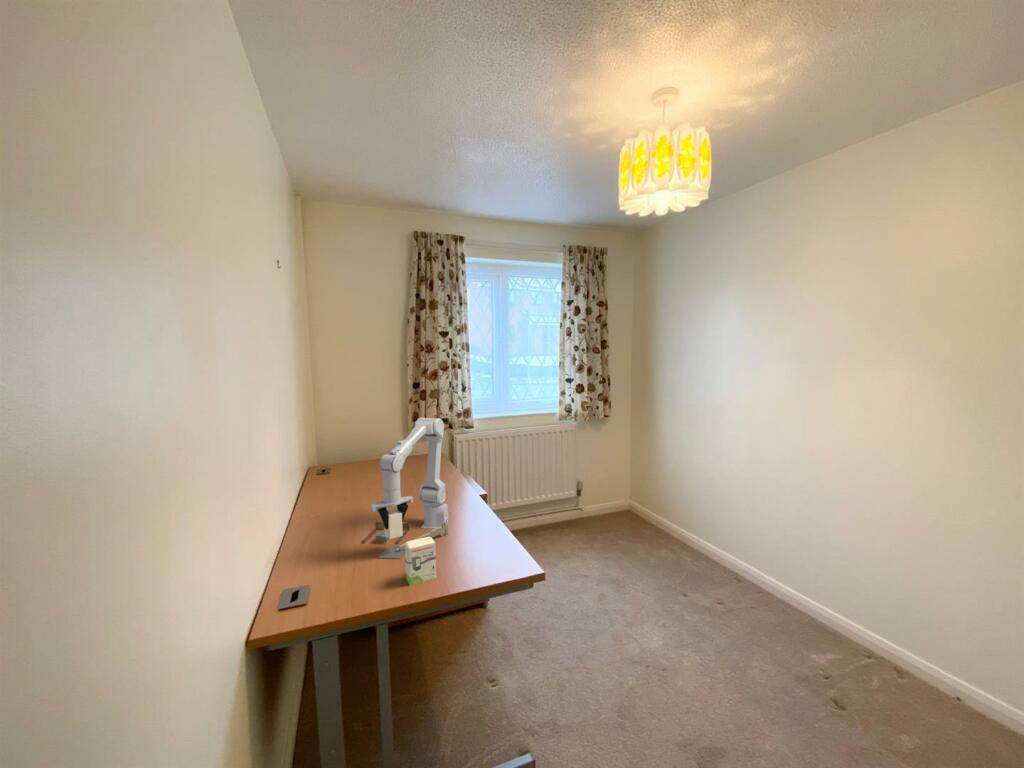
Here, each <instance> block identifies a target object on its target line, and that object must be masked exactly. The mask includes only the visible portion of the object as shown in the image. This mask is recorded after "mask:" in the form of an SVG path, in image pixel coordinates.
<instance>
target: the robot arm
mask: <svg viewBox="0 0 1024 768" xmlns="http://www.w3.org/2000/svg"><path fill="white" fill-rule="evenodd" d="M413 427H414V428H413V429H412V430H411V431H410V433H408V435H407V436H406V438H405V439H401V440H399V441H398V442H397V444H396V445H395V446H394V447H393V448H392V449H391V450H390V451H389V453H386V454H383V455H382V456H381V457H380V459H379V463H378V468H379V470H380V473H381V475H382V483H383V485H382V486H383V487H382V488H383V500H382V501H378V502H376V503H372V504H370V511H371V512H376V511H377V513H379V516H380V518H381V522H383V524H384V528H385V529H388V513H389V512H388V511H387V510H388V509H387V508H392V507H396V509H397V510H398V511H400V512H401V513H402V524H403V522H404V519H405V515H406V513H407V511H408V509H409V505H408V504H409V503H412V504H413V503H414V496H412V495H408V496H407V495H406V496H401V495H402V493H401V492H402V491H401V470H402V469H403V466H404V464H405V461H406V458H407V457H409V455H411V453H412V451H413V448H414V447H413V446H414V445H415V444H416V442H418V441H419V440H420V439H421V438H422V437H425V438H426V439H427V441H428V450H427V451H428V452H427V464H426V467H427V468H426V478H425V480H424V481H423V482H422V483H421V484H420V489H419V491H418V499H419V500H420V502H421V504H422V505H423V520H424V521H423V522H424V523H423V524H422V525H421V527H420V529H431V530H433V529H435V528H437V527H439V526H441V527H442V523H443V524H444V522H446V524H447V525H448V522H449V505H448V504H447V503H444V502H445V500H446V498H447V493H446V484H445V483H444V482H443V481H442V480H441V479H440V477H441V462H442V461H441V460H442V446H443V443H442V442H443V438H444V432H445V431H444V430H445V422H444V421H443V420H442V419H441V418H438V417H436V418H432V417H423V416H422V417H418V418H417V420H415V422H414V426H413Z"/></svg>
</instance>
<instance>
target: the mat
mask: <svg viewBox="0 0 1024 768" xmlns="http://www.w3.org/2000/svg"><path fill="white" fill-rule="evenodd" d="M399 546H400V545H388V546H387V547H386V548H385V549H384V550H383V551H382V553H380V554H379V556H378V557H377V559H378V560H382V559H383V560H401V559H402V558H403V556H405V549H403V550H399V551H396V548H398V547H399Z"/></svg>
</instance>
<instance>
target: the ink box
mask: <svg viewBox="0 0 1024 768" xmlns="http://www.w3.org/2000/svg"><path fill="white" fill-rule="evenodd" d="M411 540H412V541H411ZM411 540H409V541H406V542H404V543H405V554H404V560H405V561H404V563H405V581H406V582H407V583H408V585H409V586H413V585H416V584H419V583H422V582H425V581H426V582H427V581H428V580H432V579H435V578H437V562H436V561H437V559H436V558H437V557H436V554H437V553H436V541H435V540H434V539H433V538H432V537H426V538H421V539H416V540H413V539H411Z"/></svg>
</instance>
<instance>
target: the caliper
mask: <svg viewBox="0 0 1024 768" xmlns="http://www.w3.org/2000/svg"><path fill="white" fill-rule="evenodd" d="M444 534H445V535H446V536H447V535H449V525H448V523H447V524H446V522H444V524H443V523H442V527H441V526H439V527H437V528H435V529H431V530H429V532H427V533H424V534H422V535H420V536H418V537H416V538H413V539H411V540H410V541H412V540H416V539H421V538H426V537H431V538H432V539H433V538H434V537H437V536H438V535H439V536H441V537H444ZM405 543H406V542H404V543H402V544H400V545H398V546H399V547H398V548H396V551H399V550H403V549H405Z"/></svg>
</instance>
